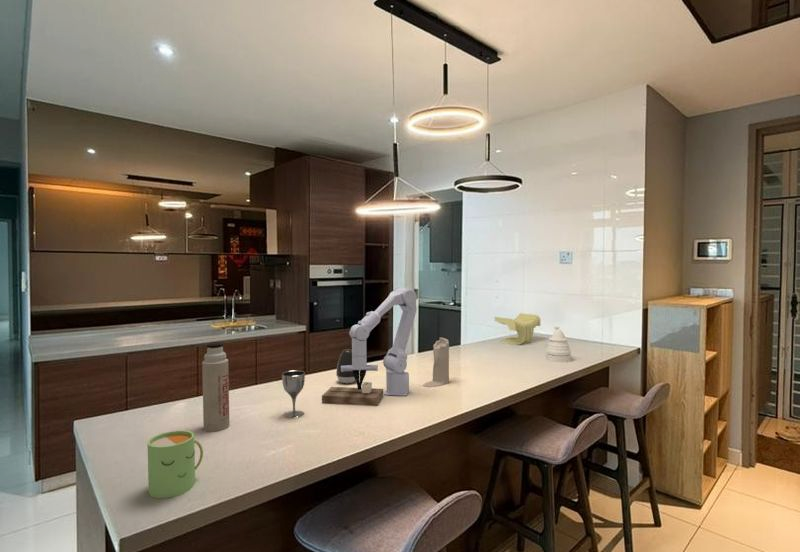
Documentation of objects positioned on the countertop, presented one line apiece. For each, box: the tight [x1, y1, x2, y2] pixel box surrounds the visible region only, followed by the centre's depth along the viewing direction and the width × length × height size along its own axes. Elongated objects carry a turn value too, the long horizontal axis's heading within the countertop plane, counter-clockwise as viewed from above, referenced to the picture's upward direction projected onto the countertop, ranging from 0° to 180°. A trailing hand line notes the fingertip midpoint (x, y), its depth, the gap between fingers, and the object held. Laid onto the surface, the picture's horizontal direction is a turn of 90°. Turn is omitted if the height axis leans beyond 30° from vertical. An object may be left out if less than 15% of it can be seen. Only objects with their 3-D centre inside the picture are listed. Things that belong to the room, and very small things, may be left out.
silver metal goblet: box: [281, 369, 306, 419], centre depth 155 cm, size 8×8×15 cm
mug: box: [147, 430, 204, 499], centre depth 106 cm, size 13×10×12 cm
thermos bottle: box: [201, 342, 231, 433], centre depth 144 cm, size 8×8×28 cm
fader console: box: [321, 386, 384, 407], centre depth 172 cm, size 22×12×3 cm, turn 81°
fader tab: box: [361, 381, 373, 393], centre depth 171 cm, size 3×4×3 cm
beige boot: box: [422, 337, 450, 388], centre depth 193 cm, size 7×14×20 cm, turn 131°
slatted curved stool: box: [494, 312, 541, 345], centre depth 291 cm, size 30×16×18 cm, turn 131°
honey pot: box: [545, 326, 572, 363], centre depth 239 cm, size 13×13×18 cm
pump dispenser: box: [335, 348, 356, 385], centre depth 197 cm, size 10×10×15 cm
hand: (359, 388), depth 171 cm, fingers closed
